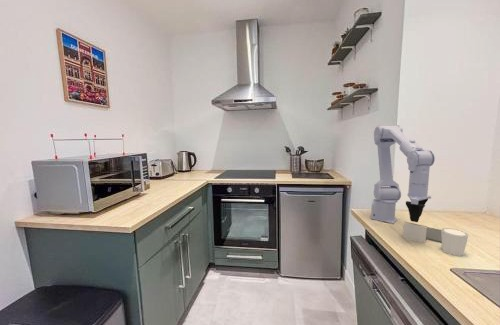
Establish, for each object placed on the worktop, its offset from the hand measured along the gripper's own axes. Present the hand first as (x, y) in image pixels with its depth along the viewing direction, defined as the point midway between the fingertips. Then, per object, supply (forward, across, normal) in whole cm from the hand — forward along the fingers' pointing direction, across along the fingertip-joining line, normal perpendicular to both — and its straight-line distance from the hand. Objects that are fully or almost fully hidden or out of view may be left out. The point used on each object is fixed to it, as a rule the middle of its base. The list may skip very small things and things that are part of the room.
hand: (415, 218), depth 85 cm
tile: (+8, 0, 0) cm, 8 cm away
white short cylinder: (+8, -2, -11) cm, 14 cm away
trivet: (+8, +10, -6) cm, 14 cm away
